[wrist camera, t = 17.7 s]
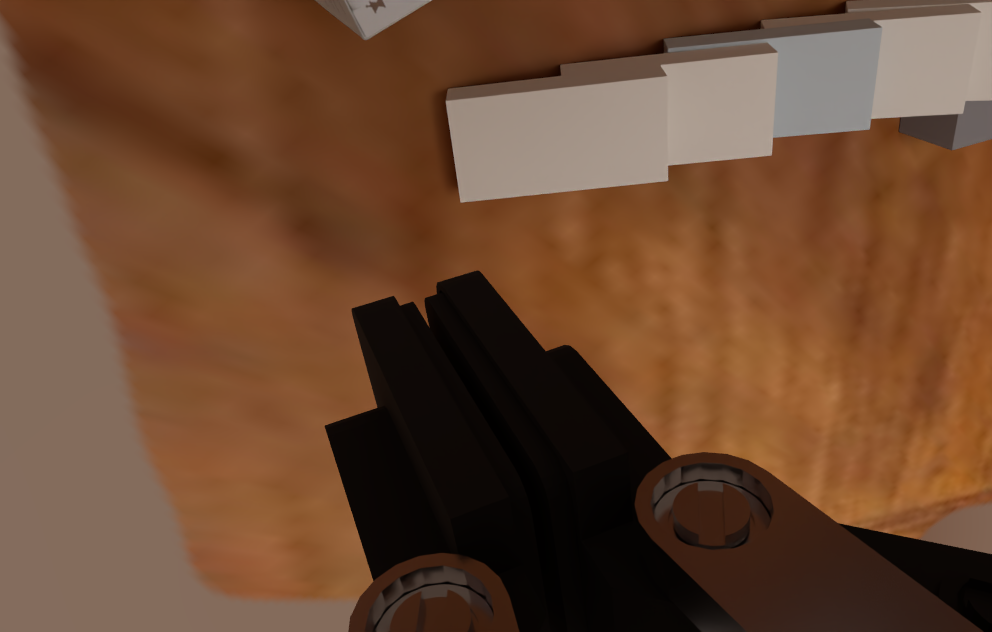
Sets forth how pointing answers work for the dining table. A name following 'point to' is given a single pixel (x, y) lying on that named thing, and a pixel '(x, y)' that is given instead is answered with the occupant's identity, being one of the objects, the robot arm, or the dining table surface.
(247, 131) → the dining table surface
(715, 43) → the tile
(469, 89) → the end tile
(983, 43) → the tile
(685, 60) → the tile
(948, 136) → the end block
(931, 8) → the tile
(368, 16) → the small box
